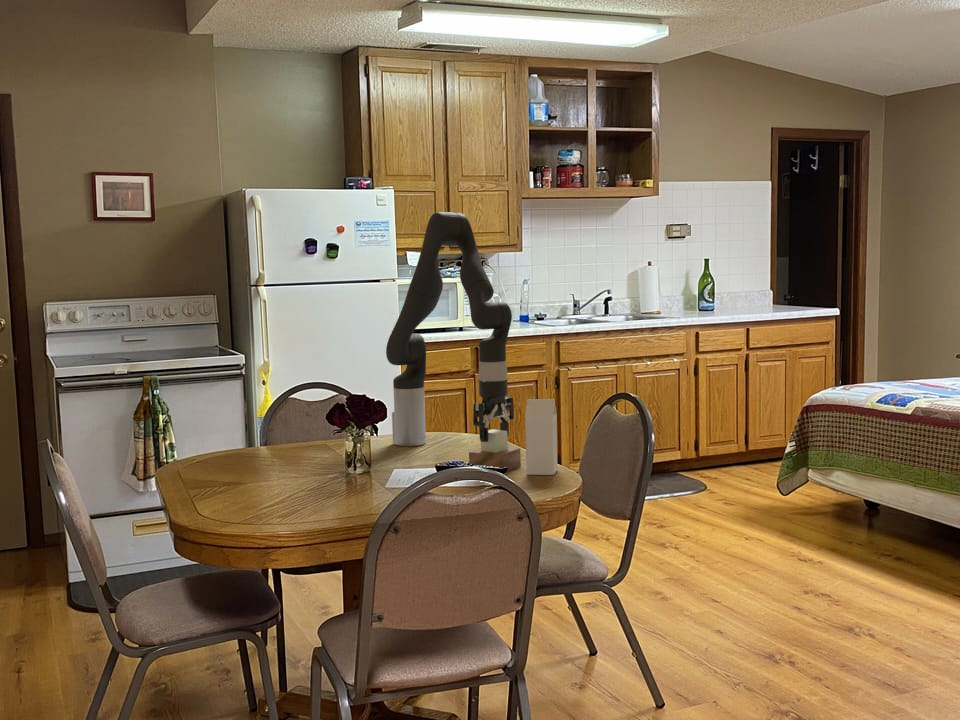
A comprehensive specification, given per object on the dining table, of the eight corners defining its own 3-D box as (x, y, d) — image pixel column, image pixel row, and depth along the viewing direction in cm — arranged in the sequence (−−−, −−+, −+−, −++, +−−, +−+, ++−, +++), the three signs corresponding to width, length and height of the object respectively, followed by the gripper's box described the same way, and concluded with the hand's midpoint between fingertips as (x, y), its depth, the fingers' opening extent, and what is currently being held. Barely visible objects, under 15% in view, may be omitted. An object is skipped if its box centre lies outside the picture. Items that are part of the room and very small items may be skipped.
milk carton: (554, 475, 254) (552, 401, 252) (526, 475, 256) (524, 401, 254) (557, 469, 261) (556, 397, 259) (530, 469, 263) (529, 397, 261)
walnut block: (469, 470, 264) (468, 452, 264) (488, 463, 273) (487, 445, 272) (502, 474, 259) (502, 454, 259) (520, 466, 268) (520, 448, 267)
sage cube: (481, 450, 265) (480, 432, 265) (492, 447, 269) (492, 429, 268) (496, 452, 262) (495, 433, 261) (507, 449, 266) (507, 430, 265)
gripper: (498, 374, 271) (500, 433, 273) (464, 380, 260) (466, 442, 262) (520, 376, 267) (522, 436, 268) (487, 382, 256) (488, 444, 257)
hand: (494, 439), depth 265 cm, fingers open, 8 cm apart
